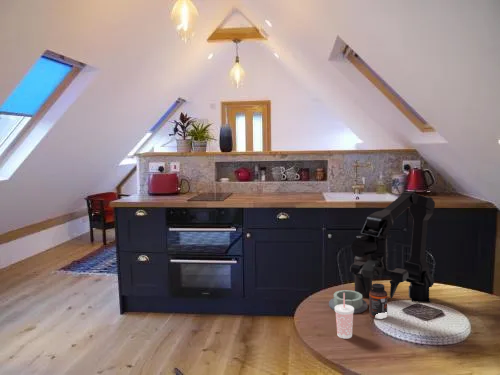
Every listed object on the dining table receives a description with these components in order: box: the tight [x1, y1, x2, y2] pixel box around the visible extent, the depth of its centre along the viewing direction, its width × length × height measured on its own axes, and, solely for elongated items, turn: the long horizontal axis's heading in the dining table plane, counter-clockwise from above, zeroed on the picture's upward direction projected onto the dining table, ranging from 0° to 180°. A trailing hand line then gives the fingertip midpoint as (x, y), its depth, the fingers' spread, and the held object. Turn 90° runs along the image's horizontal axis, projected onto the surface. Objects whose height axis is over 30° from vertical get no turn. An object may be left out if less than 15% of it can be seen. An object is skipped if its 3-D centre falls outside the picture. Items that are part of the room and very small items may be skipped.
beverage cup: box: [334, 293, 354, 339], centre depth 125 cm, size 6×6×14 cm
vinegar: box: [353, 255, 373, 298], centre depth 157 cm, size 7×7×20 cm
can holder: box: [328, 289, 368, 315], centre depth 148 cm, size 14×14×4 cm
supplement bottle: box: [368, 282, 388, 319], centre depth 138 cm, size 6×6×11 cm
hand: (378, 294), depth 137 cm, fingers open, 9 cm apart
